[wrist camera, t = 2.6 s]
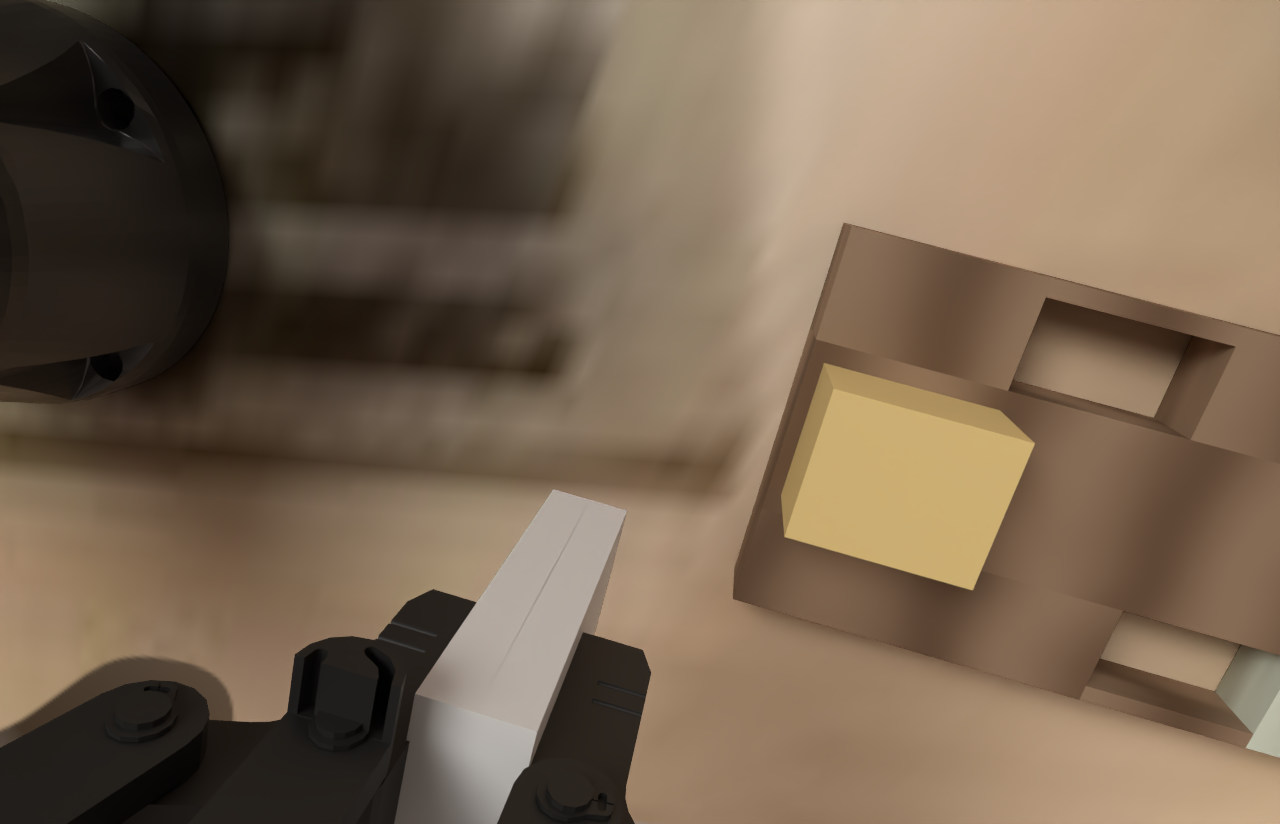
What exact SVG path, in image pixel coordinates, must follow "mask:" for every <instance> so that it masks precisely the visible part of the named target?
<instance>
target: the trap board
mask: <svg viewBox="0 0 1280 824" xmlns="http://www.w3.org/2000/svg"><path fill="white" fill-rule="evenodd" d="M1046 297H1047V298H1051V299H1055V300H1059V301H1063V302H1066V303H1070V304H1074V305H1078V306H1082V307H1086V308H1090V309H1093V310H1097V311H1101V312H1105V313H1109V314H1113V315H1116V316H1120V317H1124V318H1128V319H1132V320H1136V321H1139V322H1143V323H1147V324H1151V325H1155V326H1159V327H1162V328H1166V329H1170V330H1174V331H1178V332H1182V333H1186V334H1189V335H1193V336H1192V338H1191V340H1190V343H1189V345H1188V347H1187V349H1186V351H1185V353H1184V355H1183V357H1182V360H1181V362H1180V364H1179V366H1178V368H1177V370H1176V372H1175V375H1174V377H1173V379H1172V381H1171V383H1170V385H1169V387H1168V389H1167V392H1166V394H1165V396H1164V398H1163V400H1162V402H1161V404H1160V406H1159V409H1158V411H1157V413H1156V415H1155V417H1154V418H1152V417H1148V416H1144V415H1141V414H1137V413H1133V412H1129V411H1126V410H1122V409H1118V408H1114V407H1111V406H1107V405H1103V404H1100V403H1096V402H1092V401H1088V400H1085V399H1081V398H1077V397H1073V396H1070V395H1066V394H1062V393H1058V392H1055V391H1051V390H1047V389H1043V388H1040V387H1036V386H1032V385H1028V384H1025V383H1021V382H1017V381H1014V380H1013V377H1014V375H1015V372H1016V370H1017V367H1018V365H1019V362H1020V360H1021V357H1022V355H1023V353H1024V350H1025V348H1026V345H1027V343H1028V340H1029V338H1030V335H1031V333H1032V330H1033V328H1034V325H1035V323H1036V320H1037V318H1038V315H1039V313H1040V311H1041V308H1042V306H1043V303H1044V301H1045V298H1046ZM824 363H826V364H830V365H834V366H837V367H841V368H845V369H848V370H852V371H856V372H859V373H863V374H867V375H871V376H874V377H878V378H882V379H885V380H889V381H893V382H896V383H900V384H904V385H908V386H911V387H915V388H919V389H922V390H926V391H930V392H934V393H937V394H941V395H945V396H948V397H952V398H956V399H959V400H963V401H967V402H971V403H974V404H978V405H982V406H985V407H989V408H993V409H996V410H1000V411H1001V412H1002V413H1003V414H1004V415H1005V416H1006V417H1008V418H1009V419H1010V420H1011V421H1012V422H1013V423H1014V424H1015V425H1016V426H1017V427H1018V428H1019V429H1020V430H1021V431H1022V432H1023V433H1024V434H1026V435H1027V436H1028V437H1029V438H1030V439H1031V440H1032V441H1033V442H1034V443H1035V445H1034V447H1033V450H1032V452H1031V454H1030V457H1029V459H1028V461H1027V464H1026V466H1025V468H1024V471H1023V473H1022V476H1021V478H1020V480H1019V483H1018V485H1017V487H1016V490H1015V492H1014V494H1013V497H1012V499H1011V501H1010V504H1009V506H1008V508H1007V511H1006V513H1005V516H1004V518H1003V520H1002V523H1001V525H1000V527H999V530H998V532H997V534H996V537H995V539H994V541H993V544H992V546H991V549H990V551H989V553H988V556H987V558H986V560H985V563H984V565H983V567H982V570H981V572H980V574H979V577H978V579H977V581H976V584H975V586H974V589H973V590H969V589H966V588H962V587H959V586H955V585H952V584H948V583H945V582H941V581H938V580H934V579H931V578H927V577H923V576H920V575H916V574H913V573H909V572H906V571H902V570H899V569H895V568H892V567H888V566H885V565H881V564H878V563H874V562H871V561H867V560H864V559H860V558H857V557H853V556H850V555H846V554H843V553H839V552H836V551H832V550H829V549H825V548H822V547H818V546H815V545H811V544H808V543H804V542H801V541H797V540H794V539H790V538H786V537H784V526H783V514H782V502H781V493H782V490H783V487H784V484H785V481H786V478H787V475H788V472H789V469H790V466H791V463H792V460H793V457H794V454H795V451H796V447H797V444H798V441H799V438H800V435H801V432H802V429H803V426H804V423H805V420H806V417H807V414H808V411H809V408H810V405H811V401H812V398H813V395H814V392H815V389H816V386H817V383H818V380H819V377H820V374H821V371H822V368H823V365H824ZM733 599H735V600H739V601H742V602H746V603H749V604H752V605H756V606H759V607H763V608H766V609H770V610H773V611H776V612H780V613H783V614H787V615H790V616H794V617H797V618H801V619H804V620H807V621H811V622H814V623H818V624H821V625H825V626H828V627H832V628H835V629H838V630H842V631H845V632H849V633H852V634H856V635H859V636H862V637H866V638H869V639H873V640H876V641H880V642H883V643H887V644H890V645H893V646H897V647H900V648H904V649H907V650H911V651H914V652H917V653H921V654H924V655H928V656H931V657H935V658H938V659H942V660H945V661H948V662H952V663H955V664H959V665H962V666H966V667H969V668H973V669H976V670H979V671H983V672H986V673H990V674H993V675H997V676H1000V677H1003V678H1007V679H1010V680H1014V681H1017V682H1021V683H1024V684H1028V685H1031V686H1034V687H1038V688H1041V689H1045V690H1048V691H1052V692H1055V693H1058V694H1062V695H1065V696H1069V697H1072V698H1076V699H1079V700H1083V701H1086V702H1089V703H1093V704H1096V705H1100V706H1103V707H1107V708H1110V709H1114V710H1117V711H1120V712H1124V713H1127V714H1131V715H1134V716H1138V717H1141V718H1144V719H1148V720H1151V721H1155V722H1158V723H1162V724H1165V725H1169V726H1172V727H1175V728H1179V729H1182V730H1186V731H1189V732H1193V733H1196V734H1199V735H1203V736H1206V737H1210V738H1213V739H1217V740H1220V741H1224V742H1227V743H1230V744H1234V745H1237V746H1241V747H1244V748H1248V749H1251V750H1255V751H1258V752H1261V753H1265V754H1268V755H1272V756H1275V757H1279V758H1280V335H1276V334H1272V333H1268V332H1264V331H1261V330H1257V329H1253V328H1249V327H1245V326H1241V325H1237V324H1234V323H1230V322H1226V321H1222V320H1218V319H1214V318H1210V317H1206V316H1203V315H1199V314H1195V313H1191V312H1187V311H1183V310H1179V309H1176V308H1172V307H1168V306H1164V305H1160V304H1156V303H1152V302H1148V301H1145V300H1141V299H1137V298H1133V297H1129V296H1125V295H1121V294H1118V293H1114V292H1110V291H1106V290H1102V289H1098V288H1094V287H1090V286H1087V285H1083V284H1079V283H1075V282H1071V281H1067V280H1063V279H1060V278H1056V277H1052V276H1048V275H1044V274H1040V273H1036V272H1032V271H1029V270H1025V269H1021V268H1017V267H1013V266H1009V265H1005V264H1002V263H998V262H994V261H990V260H986V259H982V258H978V257H974V256H971V255H967V254H963V253H959V252H955V251H951V250H947V249H944V248H940V247H936V246H932V245H928V244H924V243H920V242H916V241H913V240H909V239H905V238H901V237H897V236H893V235H889V234H886V233H882V232H878V231H874V230H870V229H866V228H862V227H858V226H855V225H851V224H847V223H843V227H842V230H841V233H840V236H839V239H838V242H837V246H836V249H835V252H834V255H833V258H832V261H831V265H830V268H829V271H828V274H827V277H826V280H825V284H824V287H823V290H822V293H821V296H820V299H819V303H818V306H817V309H816V312H815V315H814V318H813V322H812V325H811V328H810V331H809V334H808V337H807V341H806V344H805V347H804V350H803V353H802V356H801V359H800V363H799V366H798V369H797V372H796V375H795V378H794V382H793V385H792V388H791V391H790V394H789V397H788V401H787V404H786V407H785V410H784V413H783V416H782V420H781V423H780V426H779V429H778V432H777V435H776V439H775V442H774V445H773V448H772V451H771V454H770V458H769V461H768V464H767V467H766V470H765V473H764V477H763V480H762V483H761V486H760V489H759V492H758V496H757V499H756V502H755V505H754V508H753V511H752V515H751V518H750V521H749V524H748V527H747V530H746V533H745V537H744V540H743V543H742V546H741V549H740V552H739V556H738V559H737V562H736V565H735V570H734V589H733ZM1123 611H1125V612H1129V613H1132V614H1136V615H1139V616H1143V617H1146V618H1150V619H1153V620H1157V621H1160V622H1164V623H1168V624H1171V625H1175V626H1178V627H1182V628H1185V629H1189V630H1192V631H1196V632H1199V633H1203V634H1206V635H1210V636H1213V637H1217V638H1221V639H1224V640H1228V641H1231V642H1235V643H1238V644H1241V646H1240V648H1239V650H1238V652H1237V653H1236V655H1235V657H1234V659H1233V661H1232V662H1231V664H1230V666H1229V668H1228V670H1227V671H1226V673H1225V675H1224V677H1223V679H1222V680H1221V682H1220V684H1219V686H1218V688H1217V689H1216V691H1215V692H1214V691H1211V690H1207V689H1204V688H1200V687H1197V686H1193V685H1190V684H1186V683H1183V682H1179V681H1176V680H1172V679H1169V678H1165V677H1162V676H1158V675H1155V674H1151V673H1148V672H1144V671H1141V670H1137V669H1134V668H1130V667H1127V666H1124V665H1120V664H1117V663H1113V662H1110V661H1106V660H1103V659H1100V657H1101V655H1102V653H1103V651H1104V649H1105V647H1106V645H1107V643H1108V641H1109V639H1110V637H1111V635H1112V633H1113V631H1114V629H1115V626H1116V624H1117V622H1118V620H1119V618H1120V616H1121V614H1122V612H1123Z"/></svg>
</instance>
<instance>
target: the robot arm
mask: <svg viewBox="0 0 1280 824" xmlns="http://www.w3.org/2000/svg"><path fill="white" fill-rule="evenodd" d="M228 247H229V229H228V216H227V208H226V202H225V196H224V191H223V187H222V182H221V179H220V175H219V172H218V169H217V165H216V163H215V160H214V157H213V154H212V151H211V149H210V147H209V144H208V142H207V140H206V137H205V135H204V133H203V131H202V129H201V127H200V125H199V123H198V121H197V120H196V118H195V116H194V115H193V113H192V111H191V110H190V108H189V106H188V105H187V103H186V102H185V100H184V99H183V97H182V96H181V94H180V93H179V92H178V90H177V89H176V88H175V86H174V85H173V84H172V82H171V81H170V80H169V79H168V78H167V76H166V75H165V74H164V73H163V72H162V71H161V70H160V68H159V67H158V66H157V65H156V64H155V63H154V62H153V61H152V60H151V59H150V58H149V57H148V56H147V55H146V54H145V53H143V52H142V51H141V50H140V49H139V48H138V47H137V46H136V45H134V44H133V43H132V42H130V41H129V40H128V39H127V38H125V37H124V36H123V35H121V34H120V33H118V32H117V31H115V30H114V29H112V28H111V27H109V26H108V25H106V24H104V23H102V22H101V21H99V20H97V19H95V18H93V17H91V16H89V15H87V14H85V13H83V12H80V11H78V10H75V9H73V8H70V7H67V6H64V5H61V4H57V3H54V2H50V1H46V0H0V402H24V403H67V402H74V401H81V400H88V399H92V398H96V397H100V396H103V395H106V394H109V393H112V392H115V391H118V390H121V389H124V388H127V387H130V386H133V385H136V384H139V383H142V382H144V381H147V380H149V379H151V378H153V377H155V376H157V375H159V374H161V373H162V372H164V371H165V370H167V369H168V368H170V367H171V366H173V365H174V364H175V363H176V362H178V361H179V360H180V359H181V358H182V357H183V356H184V355H185V354H186V353H187V352H188V351H189V350H190V349H191V348H192V347H193V345H194V344H195V343H196V342H197V341H198V339H199V338H200V336H201V335H202V333H203V332H204V330H205V329H206V327H207V325H208V323H209V322H210V320H211V318H212V315H213V313H214V311H215V309H216V306H217V304H218V301H219V298H220V295H221V292H222V288H223V284H224V280H225V275H226V269H227V261H228ZM626 513H627V510H624V509H620V508H617V507H613V506H610V505H606V504H603V503H599V502H596V501H592V500H589V499H585V498H582V497H579V496H575V495H572V494H568V493H565V492H561V491H558V490H554V489H553V491H552V492H551V494H550V495H549V496H548V498H547V499H546V501H545V502H544V504H543V505H542V507H541V508H540V510H539V511H538V513H537V514H536V516H535V517H534V519H533V520H532V522H531V523H530V525H529V526H528V528H527V529H526V530H525V532H524V533H523V535H522V536H521V538H520V539H519V541H518V542H517V544H516V545H515V547H514V548H513V550H512V551H511V553H510V554H509V556H508V557H507V559H506V560H505V561H504V563H503V564H502V566H501V567H500V569H499V570H498V572H497V573H496V575H495V576H494V578H493V579H492V581H491V582H490V584H489V585H488V587H487V588H486V590H485V591H484V593H483V594H482V595H481V597H480V598H479V600H478V601H477V602H474V601H470V600H467V599H464V598H460V597H457V596H454V595H450V594H447V593H444V592H440V591H437V590H434V589H433V590H430V591H428V592H426V593H424V594H422V595H420V596H418V597H416V598H414V599H412V600H410V601H408V602H407V603H406V604H405V605H404V606H403V607H402V609H401V610H400V611H399V612H398V613H397V615H396V616H395V617H394V618H393V619H392V622H391V624H388V625H387V626H386V628H385V629H384V630H383V631H382V632H381V634H380V635H379V637H378V639H375V640H371V639H365V638H359V637H354V636H350V637H333V638H328V639H325V640H321V641H318V642H315V643H312V644H310V645H308V646H307V647H305V648H304V649H302V650H301V651H299V652H298V653H296V654H295V658H294V665H293V673H292V681H291V688H290V696H289V704H288V711H287V713H286V714H285V715H284V716H283V717H282V719H281V720H277V721H271V722H237V721H218V720H209V710H208V705H207V700H206V699H205V698H204V697H203V696H202V695H201V694H199V692H197V691H196V690H195V689H194V688H191V687H188V686H185V685H182V684H180V683H177V682H171V681H155V680H150V681H144V682H137V683H131V684H125V685H123V686H120V687H118V688H115V689H113V690H110V691H107V692H105V693H102V694H100V695H99V696H97V697H95V698H93V699H91V700H89V701H87V702H85V703H84V704H82V705H80V706H78V707H76V708H74V709H72V710H70V711H69V712H67V713H65V714H63V715H61V716H59V717H57V718H55V719H53V720H52V721H50V722H48V723H46V724H44V725H42V726H40V727H39V728H37V729H35V730H33V731H31V732H29V733H27V734H25V735H23V736H22V737H20V738H18V739H16V740H14V741H12V742H10V743H8V744H7V745H5V746H3V747H1V748H0V824H635V823H634V821H633V819H632V818H631V816H630V814H629V812H628V808H627V804H626V800H625V794H626V784H627V779H628V775H629V770H630V766H631V761H632V757H633V752H634V748H635V743H636V739H637V734H638V730H639V725H640V721H641V715H642V712H643V707H644V703H645V697H646V694H647V689H648V685H649V680H650V676H651V671H650V669H649V666H648V663H647V660H646V658H645V655H644V652H643V650H641V649H638V648H634V647H631V646H628V645H624V644H621V643H618V642H614V641H611V640H608V639H604V638H601V637H598V636H594V633H595V631H596V627H597V623H598V620H599V616H600V612H601V608H602V604H603V601H604V597H605V593H606V589H607V585H608V582H609V578H610V574H611V570H612V566H613V562H614V559H615V555H616V551H617V547H618V543H619V540H620V536H621V532H622V528H623V524H624V521H625V517H626Z"/></svg>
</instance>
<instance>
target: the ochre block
mask: <svg viewBox="0 0 1280 824" xmlns="http://www.w3.org/2000/svg"><path fill="white" fill-rule="evenodd" d="M1034 445H1035V443H1034V442H1033V441H1032V440H1031V439H1030V438H1029V437H1028V436H1027V435H1026V434H1024V433H1023V432H1022V431H1021V430H1020V429H1019V428H1018V427H1017V426H1016V425H1015V424H1014V423H1013V422H1012V421H1011V420H1010V419H1009V418H1008V417H1006V416H1005V415H1004V414H1003V413H1002V412H1001V411H1000V410H996V409H993V408H989V407H985V406H982V405H978V404H974V403H971V402H967V401H963V400H959V399H956V398H952V397H948V396H945V395H941V394H937V393H934V392H930V391H926V390H922V389H919V388H915V387H911V386H908V385H904V384H900V383H896V382H893V381H889V380H885V379H882V378H878V377H874V376H871V375H867V374H863V373H859V372H856V371H852V370H848V369H845V368H841V367H837V366H834V365H830V364H826V363H824V365H823V368H822V371H821V374H820V377H819V380H818V383H817V386H816V389H815V392H814V395H813V398H812V401H811V405H810V408H809V411H808V414H807V417H806V420H805V423H804V426H803V429H802V432H801V435H800V438H799V441H798V444H797V447H796V451H795V454H794V457H793V460H792V463H791V466H790V469H789V472H788V475H787V478H786V481H785V484H784V487H783V490H782V493H781V502H782V514H783V526H784V537H786V538H790V539H794V540H797V541H801V542H804V543H808V544H811V545H815V546H818V547H822V548H825V549H829V550H832V551H836V552H839V553H843V554H846V555H850V556H853V557H857V558H860V559H864V560H867V561H871V562H874V563H878V564H881V565H885V566H888V567H892V568H895V569H899V570H902V571H906V572H909V573H913V574H916V575H920V576H923V577H927V578H931V579H934V580H938V581H941V582H945V583H948V584H952V585H955V586H959V587H962V588H966V589H969V590H973V589H974V586H975V584H976V581H977V579H978V577H979V574H980V572H981V570H982V567H983V565H984V563H985V560H986V558H987V556H988V553H989V551H990V549H991V546H992V544H993V541H994V539H995V537H996V534H997V532H998V530H999V527H1000V525H1001V523H1002V520H1003V518H1004V516H1005V513H1006V511H1007V508H1008V506H1009V504H1010V501H1011V499H1012V497H1013V494H1014V492H1015V490H1016V487H1017V485H1018V483H1019V480H1020V478H1021V476H1022V473H1023V471H1024V468H1025V466H1026V464H1027V461H1028V459H1029V457H1030V454H1031V452H1032V450H1033V447H1034Z"/></svg>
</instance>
